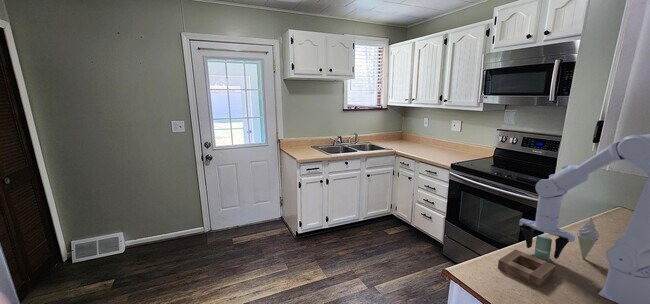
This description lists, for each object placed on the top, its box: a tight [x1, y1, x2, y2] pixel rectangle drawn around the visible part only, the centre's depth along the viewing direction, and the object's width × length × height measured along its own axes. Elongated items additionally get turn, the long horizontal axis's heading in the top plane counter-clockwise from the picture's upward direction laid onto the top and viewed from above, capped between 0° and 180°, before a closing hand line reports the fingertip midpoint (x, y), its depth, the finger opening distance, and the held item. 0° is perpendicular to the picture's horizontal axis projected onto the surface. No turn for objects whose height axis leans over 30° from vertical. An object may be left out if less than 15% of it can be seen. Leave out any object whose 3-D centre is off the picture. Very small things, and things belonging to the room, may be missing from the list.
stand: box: [497, 248, 557, 289], centre depth 84 cm, size 11×11×3 cm
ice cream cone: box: [576, 217, 600, 260], centre depth 88 cm, size 5×5×15 cm
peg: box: [533, 234, 553, 262], centre depth 91 cm, size 4×4×7 cm
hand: (542, 252), depth 91 cm, fingers open, 7 cm apart
